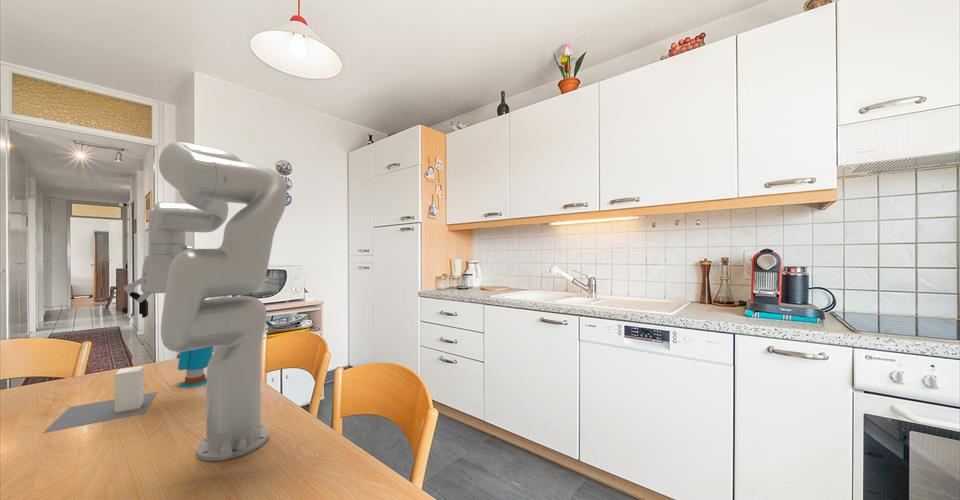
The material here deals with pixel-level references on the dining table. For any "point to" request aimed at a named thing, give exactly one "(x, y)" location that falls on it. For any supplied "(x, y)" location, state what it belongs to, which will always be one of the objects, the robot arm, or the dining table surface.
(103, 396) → the dining table surface
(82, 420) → the mat
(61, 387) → the dining table surface
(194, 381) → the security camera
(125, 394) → the block
